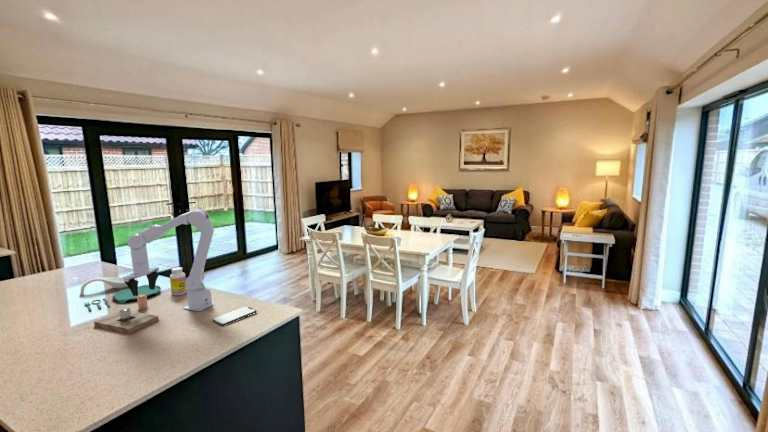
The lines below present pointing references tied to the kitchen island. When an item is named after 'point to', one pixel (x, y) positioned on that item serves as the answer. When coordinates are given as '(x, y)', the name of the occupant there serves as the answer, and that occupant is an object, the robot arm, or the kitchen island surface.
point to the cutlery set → (128, 295)
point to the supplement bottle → (178, 281)
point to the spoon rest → (113, 282)
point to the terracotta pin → (142, 302)
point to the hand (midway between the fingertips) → (144, 292)
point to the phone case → (234, 315)
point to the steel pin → (125, 314)
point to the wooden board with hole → (128, 327)
